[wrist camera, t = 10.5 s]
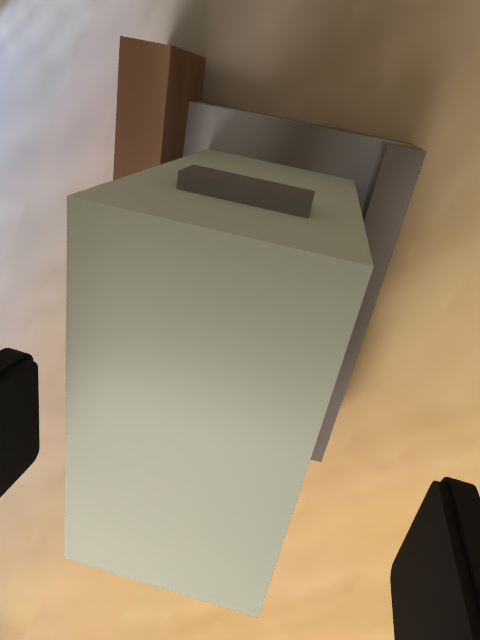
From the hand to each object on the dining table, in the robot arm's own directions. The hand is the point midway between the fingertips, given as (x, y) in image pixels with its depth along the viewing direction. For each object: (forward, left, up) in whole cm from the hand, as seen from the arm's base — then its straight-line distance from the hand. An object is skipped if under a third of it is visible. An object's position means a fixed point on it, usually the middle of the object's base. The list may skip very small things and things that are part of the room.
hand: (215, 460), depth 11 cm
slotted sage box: (+1, 0, -10) cm, 10 cm away
